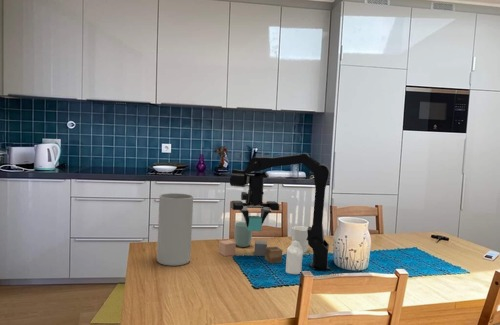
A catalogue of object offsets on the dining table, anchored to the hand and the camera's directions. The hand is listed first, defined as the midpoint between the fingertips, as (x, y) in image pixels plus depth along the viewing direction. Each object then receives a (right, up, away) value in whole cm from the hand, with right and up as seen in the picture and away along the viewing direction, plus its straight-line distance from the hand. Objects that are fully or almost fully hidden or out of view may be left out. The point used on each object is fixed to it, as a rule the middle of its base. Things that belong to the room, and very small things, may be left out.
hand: (253, 226), depth 158 cm
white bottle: (+15, -15, -12) cm, 24 cm away
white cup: (+20, -13, +16) cm, 29 cm away
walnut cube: (+8, -14, 0) cm, 16 cm away
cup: (-5, -12, +18) cm, 22 cm away
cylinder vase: (-31, -12, -7) cm, 34 cm away
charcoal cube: (+3, -13, +8) cm, 15 cm away
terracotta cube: (-11, -12, +6) cm, 17 cm away
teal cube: (0, -1, 0) cm, 1 cm away
